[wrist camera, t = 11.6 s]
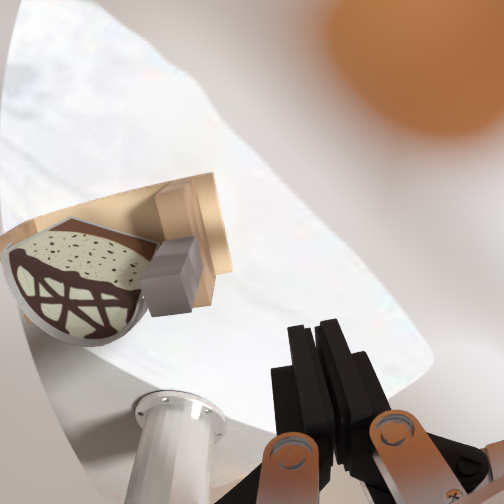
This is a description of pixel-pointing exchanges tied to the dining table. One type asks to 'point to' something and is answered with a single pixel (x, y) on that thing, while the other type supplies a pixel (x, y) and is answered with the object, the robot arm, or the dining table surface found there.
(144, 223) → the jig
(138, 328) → the dining table surface
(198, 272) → the block
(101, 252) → the food container
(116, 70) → the dining table surface
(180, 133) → the dining table surface
